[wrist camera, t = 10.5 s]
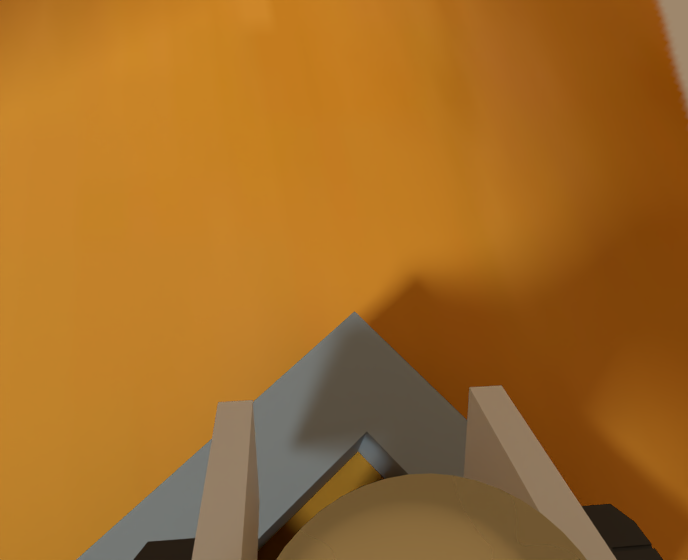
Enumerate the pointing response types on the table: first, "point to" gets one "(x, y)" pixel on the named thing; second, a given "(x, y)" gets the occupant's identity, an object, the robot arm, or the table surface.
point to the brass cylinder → (429, 524)
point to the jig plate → (313, 439)
